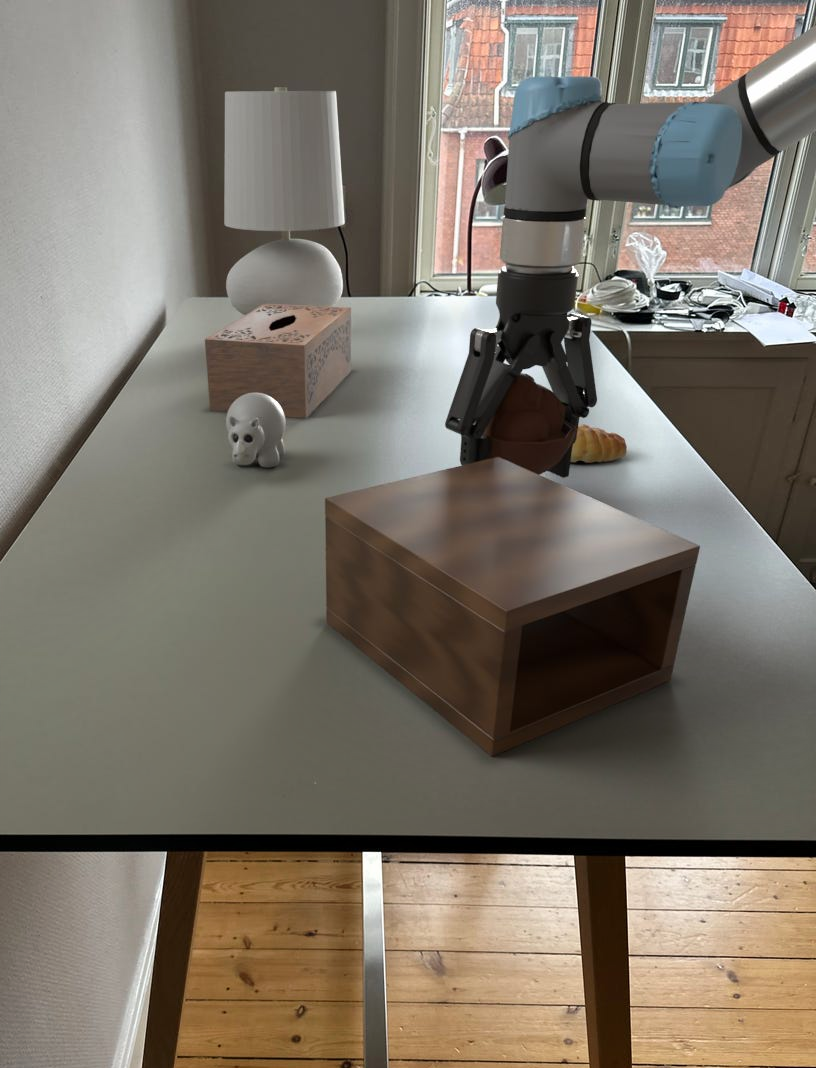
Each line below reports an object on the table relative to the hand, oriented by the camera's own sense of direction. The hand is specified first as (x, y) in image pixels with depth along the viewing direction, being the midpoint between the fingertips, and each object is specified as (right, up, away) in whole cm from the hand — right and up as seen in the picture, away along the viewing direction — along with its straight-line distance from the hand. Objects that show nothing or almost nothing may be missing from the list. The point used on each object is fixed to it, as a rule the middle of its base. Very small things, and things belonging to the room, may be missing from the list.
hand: (516, 484), depth 98 cm
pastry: (+11, +6, +17) cm, 21 cm away
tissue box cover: (-27, +22, +43) cm, 55 cm away
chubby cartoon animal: (-30, +4, +13) cm, 33 cm away
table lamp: (-29, +42, +76) cm, 92 cm away
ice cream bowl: (0, -3, +2) cm, 3 cm away
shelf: (-7, -18, -23) cm, 30 cm away
